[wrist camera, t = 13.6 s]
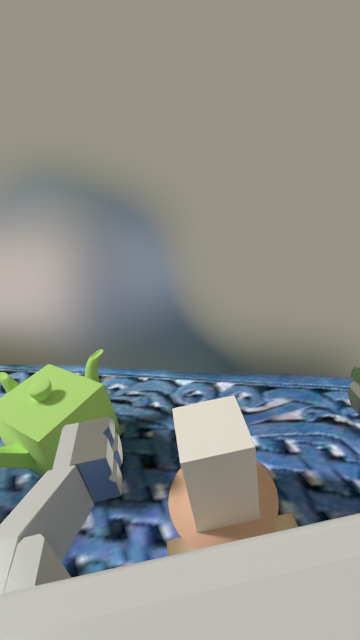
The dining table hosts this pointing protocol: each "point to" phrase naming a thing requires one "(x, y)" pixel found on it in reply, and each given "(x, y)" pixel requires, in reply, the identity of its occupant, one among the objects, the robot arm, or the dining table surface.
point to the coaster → (264, 525)
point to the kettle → (48, 413)
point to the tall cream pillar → (217, 463)
